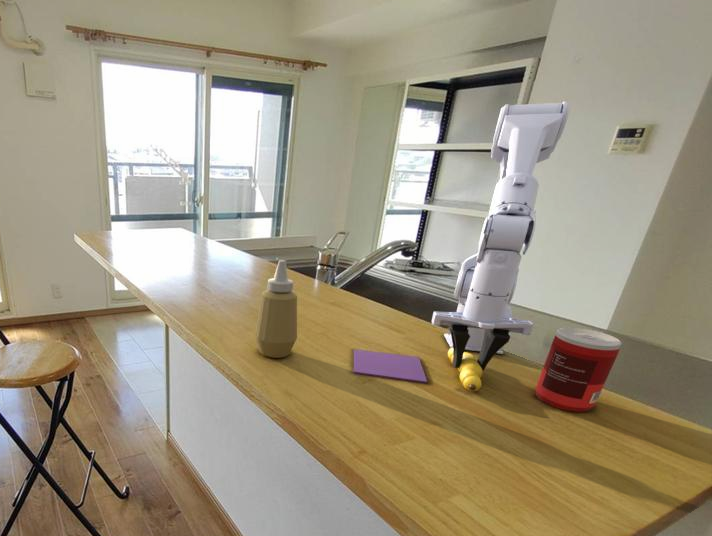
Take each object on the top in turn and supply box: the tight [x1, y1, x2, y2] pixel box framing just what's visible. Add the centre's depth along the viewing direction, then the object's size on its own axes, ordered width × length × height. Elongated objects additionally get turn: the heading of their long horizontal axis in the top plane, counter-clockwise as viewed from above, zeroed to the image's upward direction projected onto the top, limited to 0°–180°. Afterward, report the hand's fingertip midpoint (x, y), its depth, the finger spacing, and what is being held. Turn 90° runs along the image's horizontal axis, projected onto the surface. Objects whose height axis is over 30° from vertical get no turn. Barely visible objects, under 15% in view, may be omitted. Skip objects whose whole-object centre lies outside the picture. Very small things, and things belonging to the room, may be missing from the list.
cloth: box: [353, 348, 428, 384], centre depth 79 cm, size 12×11×1 cm
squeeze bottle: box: [254, 259, 298, 359], centre depth 80 cm, size 8×8×18 cm
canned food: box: [535, 327, 622, 413], centre depth 66 cm, size 8×8×11 cm
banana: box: [447, 347, 484, 392], centre depth 75 cm, size 4×17×3 cm, turn 163°
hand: (467, 367), depth 75 cm, fingers closed on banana, 3 cm apart
